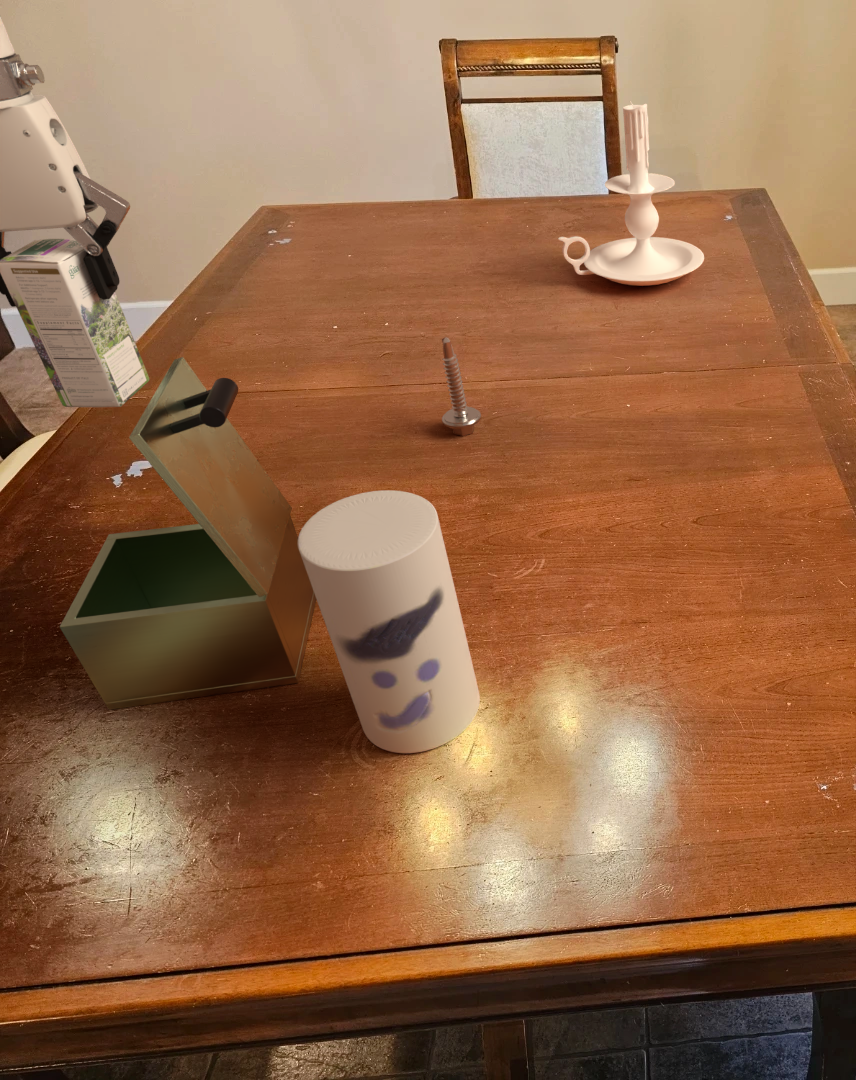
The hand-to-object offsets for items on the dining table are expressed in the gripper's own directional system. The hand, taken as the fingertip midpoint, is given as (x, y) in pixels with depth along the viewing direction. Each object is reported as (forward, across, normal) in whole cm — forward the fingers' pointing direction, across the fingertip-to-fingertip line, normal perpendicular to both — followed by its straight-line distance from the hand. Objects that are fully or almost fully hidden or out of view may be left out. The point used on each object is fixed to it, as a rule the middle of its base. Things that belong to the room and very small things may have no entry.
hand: (65, 295), depth 85 cm
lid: (+9, -14, +20) cm, 26 cm away
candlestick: (+27, -60, -62) cm, 91 cm away
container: (+28, -27, +32) cm, 51 cm away
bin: (+27, -9, +20) cm, 35 cm away
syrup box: (+10, 0, 0) cm, 10 cm away
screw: (+27, -31, -16) cm, 44 cm away
